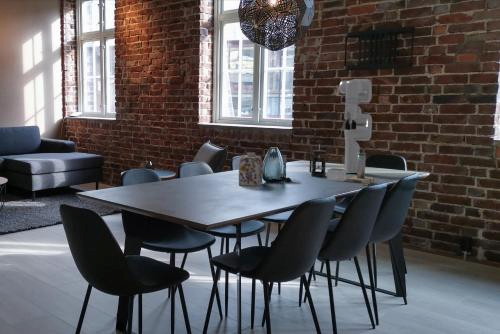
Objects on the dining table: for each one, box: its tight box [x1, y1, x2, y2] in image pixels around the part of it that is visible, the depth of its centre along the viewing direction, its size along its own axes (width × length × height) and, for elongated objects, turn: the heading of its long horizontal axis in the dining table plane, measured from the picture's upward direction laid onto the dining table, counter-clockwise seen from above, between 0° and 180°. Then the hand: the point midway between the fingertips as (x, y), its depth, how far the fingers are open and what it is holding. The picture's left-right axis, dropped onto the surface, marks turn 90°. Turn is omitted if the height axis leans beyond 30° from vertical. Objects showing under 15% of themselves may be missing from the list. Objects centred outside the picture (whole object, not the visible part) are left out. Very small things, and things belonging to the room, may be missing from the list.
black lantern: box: [309, 140, 327, 178], centre depth 317 cm, size 12×9×23 cm
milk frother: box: [280, 154, 292, 183], centre depth 303 cm, size 14×16×15 cm
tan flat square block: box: [346, 175, 375, 185], centre depth 298 cm, size 12×12×3 cm
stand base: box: [323, 167, 347, 182], centre depth 305 cm, size 12×12×7 cm
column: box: [356, 152, 367, 179], centre depth 297 cm, size 5×5×15 cm
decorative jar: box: [238, 152, 264, 187], centre depth 286 cm, size 12×12×18 cm
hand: (350, 129), depth 314 cm, fingers open, 9 cm apart
